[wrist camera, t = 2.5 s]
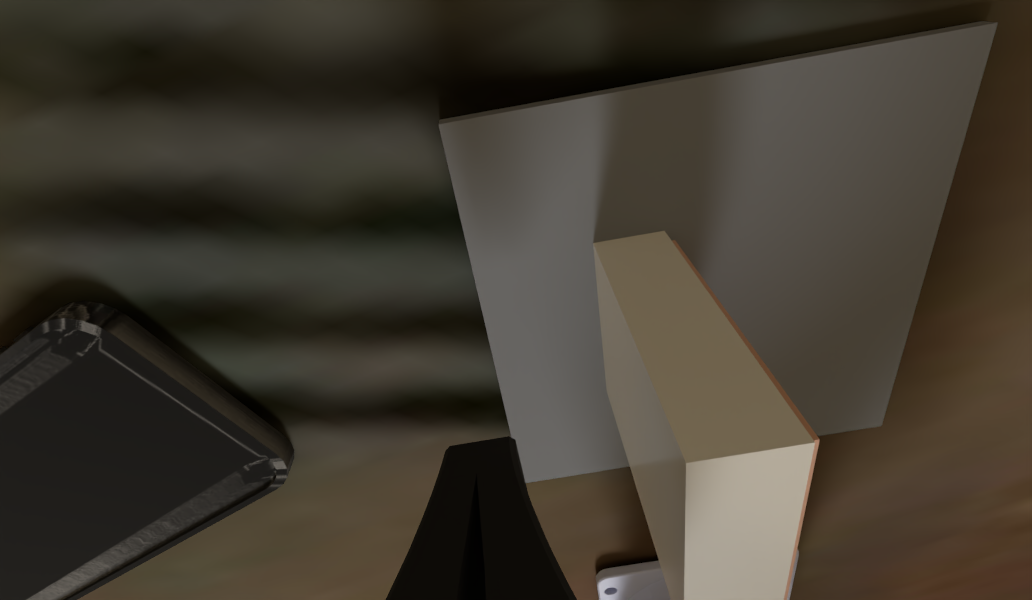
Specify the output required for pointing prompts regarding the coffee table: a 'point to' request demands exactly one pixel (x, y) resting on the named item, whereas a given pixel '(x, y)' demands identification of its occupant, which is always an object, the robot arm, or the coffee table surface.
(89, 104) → the coffee table surface
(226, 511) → the phone
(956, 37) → the mat
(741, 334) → the tile
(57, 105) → the coffee table surface
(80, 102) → the coffee table surface
